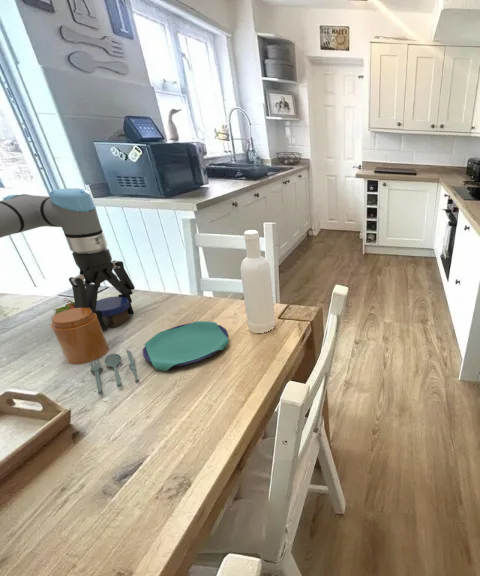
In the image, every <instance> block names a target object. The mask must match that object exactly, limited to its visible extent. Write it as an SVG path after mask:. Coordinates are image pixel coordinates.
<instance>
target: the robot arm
mask: <svg viewBox="0 0 480 576" xmlns="http://www.w3.org/2000/svg"><path fill="white" fill-rule="evenodd" d="M41 227H52V228H61V229H62V231H63V234H64V237H65V239H66V242H67V245H68V247H69V250H70V251H71V252H72V253H71V254H72V255H71V256H72V258H73V260H74V263H75V265H76V267H78V269H79V274H78V275H76V276H70V277H69V278H68V281H69V283H70V285H71V287H72V293H73V302H75V308H89V309H91V310H92V312H93V313H95V314H96V315H97V317H98V320H99V322H100V325H101V328H102V330H103V332H106V331H107V327H106V326H105V324H104V322H103V319H102V316H101V313H100V311H99V310H96V303H97V301H98V295H99V288H100V287H101V284H102V283H104V282H105V281H107V283H109V285H111V286H112V287H113V288H114V289H115V290H116V291H117V292H118V293H120V294H118V295H117V296H121V297H126V298H127V299H128V301H129V304H130V307H129V308H128V309H127V311H128V314H129V316H133V315H134V314H135V313H134V309H133V306H132V302H133V300H132V297H131V295H133V293H134V292H133V291H134V290H135V288H136V287H135V285H134V284H133V282H132V279H131V278H130V275H129V274H128V272H127V271H126V269H125V265H124V261H122V260H113V258H112V254H111V252H110V249H109V248H108V247H107V246H108V243H107V240H106V237H105V234H104V231H103V228H102V226H101V221H100V219H99V215H98V212H97V207H96V205H95V203H94V200H93V198H92V196H91V193H90V192H89V191H88V190H87V189H84V188H78V187H77V188H67V187H66V188H57V189H52V190H51V191H50V192H49V196H46V195H33V194H26V193H22V194H10V195H6V196H5V197H4V198H3V199H2V200H0V239H1V238H4V237H8V236H10V235H15V234H20V233H23V232H26V231H31V230H34V229H38V228H41Z"/></svg>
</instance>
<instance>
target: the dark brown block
mask: <svg viewBox="0 0 480 576" xmlns="http://www.w3.org/2000/svg"><path fill="white" fill-rule="evenodd" d="M102 319H103V322H104V324H105V327H106V328H114V329H117V328H118V327H120V326H121V325H123V324H124V323H126V322H128V321H129V320H131V318H130V315H129V314H128V311H127V310H126V311H124V312H122V313H119V314H116V315H112V316H107V317H102Z"/></svg>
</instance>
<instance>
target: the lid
mask: <svg viewBox="0 0 480 576" xmlns="http://www.w3.org/2000/svg"><path fill="white" fill-rule="evenodd" d="M129 307H130V304H129V301H128V299H127V298H126V297H121V296H118V295H116V296H108V297H104V298H101V299H97V303H96V310H99V311H100V313H101V316H102V317H107V316H112V315H116V314H119V313H122V312H124V311H126V310H127V309H128V308H129Z"/></svg>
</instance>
